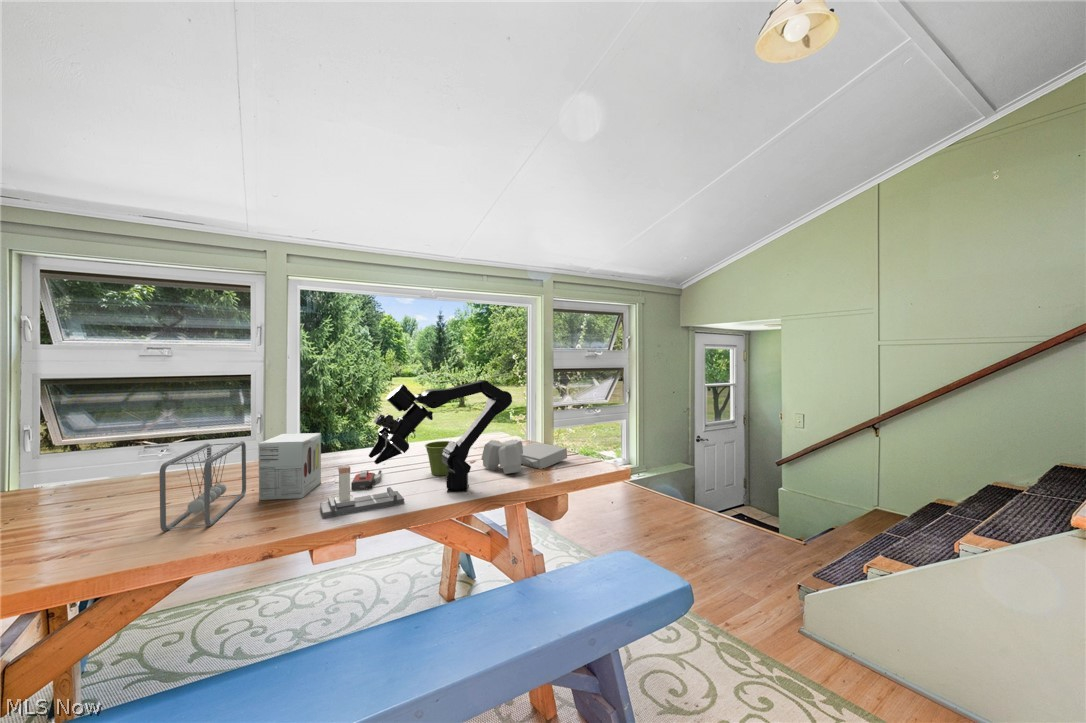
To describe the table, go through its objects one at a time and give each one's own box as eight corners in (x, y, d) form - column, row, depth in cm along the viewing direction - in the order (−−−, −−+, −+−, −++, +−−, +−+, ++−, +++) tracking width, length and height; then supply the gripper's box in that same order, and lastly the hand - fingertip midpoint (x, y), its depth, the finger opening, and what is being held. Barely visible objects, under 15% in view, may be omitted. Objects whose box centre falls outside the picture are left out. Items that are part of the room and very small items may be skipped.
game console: (568, 458, 180) (566, 428, 179) (512, 483, 157) (509, 449, 156) (535, 451, 194) (532, 423, 193) (479, 472, 171) (476, 441, 170)
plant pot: (432, 468, 170) (432, 440, 170) (460, 469, 169) (460, 441, 168) (419, 477, 159) (419, 446, 158) (450, 478, 157) (450, 447, 157)
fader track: (397, 495, 138) (397, 486, 138) (404, 503, 130) (404, 493, 130) (320, 508, 126) (320, 498, 126) (323, 518, 119) (323, 507, 118)
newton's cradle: (209, 529, 111) (208, 461, 111) (159, 534, 108) (158, 464, 108) (246, 494, 140) (246, 439, 139) (208, 497, 136) (207, 442, 136)
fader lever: (352, 498, 129) (352, 463, 129) (355, 504, 124) (355, 467, 124) (334, 501, 127) (333, 465, 127) (336, 507, 122) (336, 470, 121)
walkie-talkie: (378, 490, 144) (383, 474, 164) (377, 477, 144) (383, 463, 163) (349, 492, 142) (358, 476, 161) (349, 479, 142) (358, 464, 161)
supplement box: (303, 498, 135) (303, 441, 135) (257, 501, 133) (256, 443, 132) (322, 482, 152) (322, 432, 152) (282, 484, 150) (281, 433, 149)
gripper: (384, 401, 140) (347, 437, 134) (398, 407, 124) (357, 448, 118) (408, 423, 144) (374, 460, 139) (424, 432, 128) (386, 473, 123)
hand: (372, 460), depth 129 cm, fingers open, 9 cm apart
